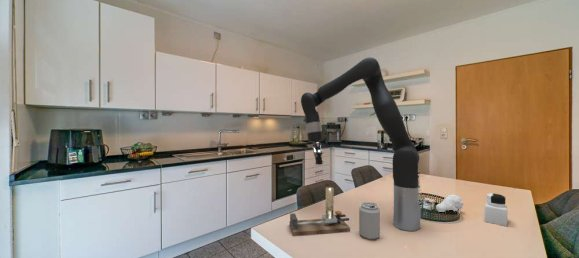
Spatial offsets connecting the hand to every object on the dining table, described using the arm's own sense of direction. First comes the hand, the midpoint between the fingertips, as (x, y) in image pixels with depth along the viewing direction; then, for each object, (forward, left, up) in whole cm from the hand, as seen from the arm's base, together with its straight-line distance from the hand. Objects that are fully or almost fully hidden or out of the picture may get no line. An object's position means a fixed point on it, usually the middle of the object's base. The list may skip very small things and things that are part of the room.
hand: (319, 164), depth 109 cm
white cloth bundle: (-61, +11, -24) cm, 67 cm away
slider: (-2, +17, -20) cm, 27 cm away
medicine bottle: (-73, +23, -23) cm, 80 cm away
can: (-12, +26, -23) cm, 37 cm away
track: (+5, +17, -23) cm, 29 cm away
